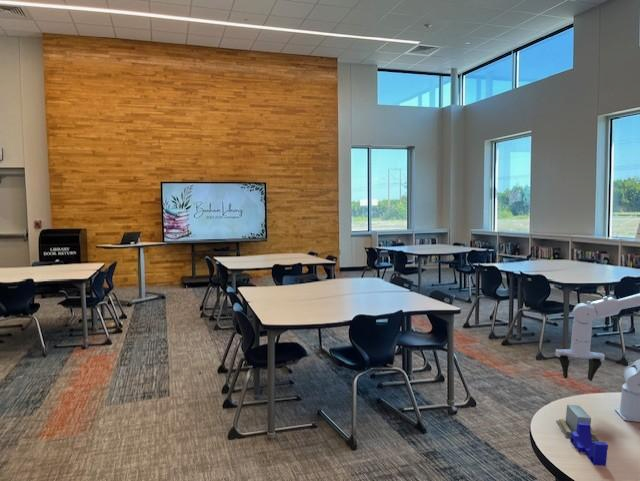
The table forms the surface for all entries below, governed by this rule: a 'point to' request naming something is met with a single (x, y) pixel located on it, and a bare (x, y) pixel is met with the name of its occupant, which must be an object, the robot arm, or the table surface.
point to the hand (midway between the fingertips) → (577, 378)
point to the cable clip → (589, 444)
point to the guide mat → (571, 430)
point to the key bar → (576, 416)
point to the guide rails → (570, 431)
